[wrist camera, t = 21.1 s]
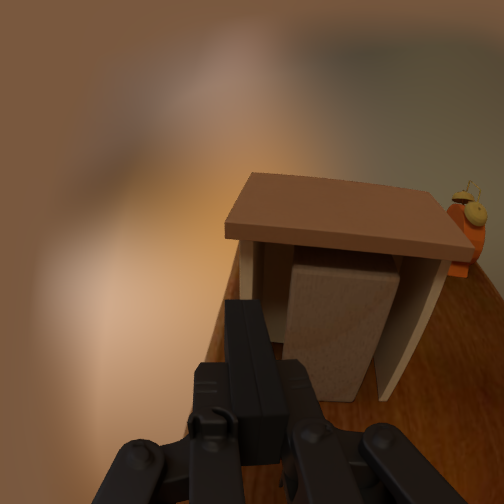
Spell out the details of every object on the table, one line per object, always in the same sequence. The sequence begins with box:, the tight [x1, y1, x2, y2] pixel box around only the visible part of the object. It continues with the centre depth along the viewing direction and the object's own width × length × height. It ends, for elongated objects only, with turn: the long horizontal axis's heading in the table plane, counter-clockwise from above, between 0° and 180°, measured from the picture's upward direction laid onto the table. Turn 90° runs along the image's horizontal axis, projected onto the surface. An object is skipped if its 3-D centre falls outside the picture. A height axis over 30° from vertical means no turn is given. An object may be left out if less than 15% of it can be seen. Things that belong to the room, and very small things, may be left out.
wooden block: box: [282, 245, 400, 402], centre depth 36 cm, size 10×10×20 cm
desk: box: [225, 172, 475, 401], centre depth 35 cm, size 13×21×24 cm, turn 81°
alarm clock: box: [447, 181, 487, 278], centre depth 60 cm, size 13×6×20 cm, turn 167°
